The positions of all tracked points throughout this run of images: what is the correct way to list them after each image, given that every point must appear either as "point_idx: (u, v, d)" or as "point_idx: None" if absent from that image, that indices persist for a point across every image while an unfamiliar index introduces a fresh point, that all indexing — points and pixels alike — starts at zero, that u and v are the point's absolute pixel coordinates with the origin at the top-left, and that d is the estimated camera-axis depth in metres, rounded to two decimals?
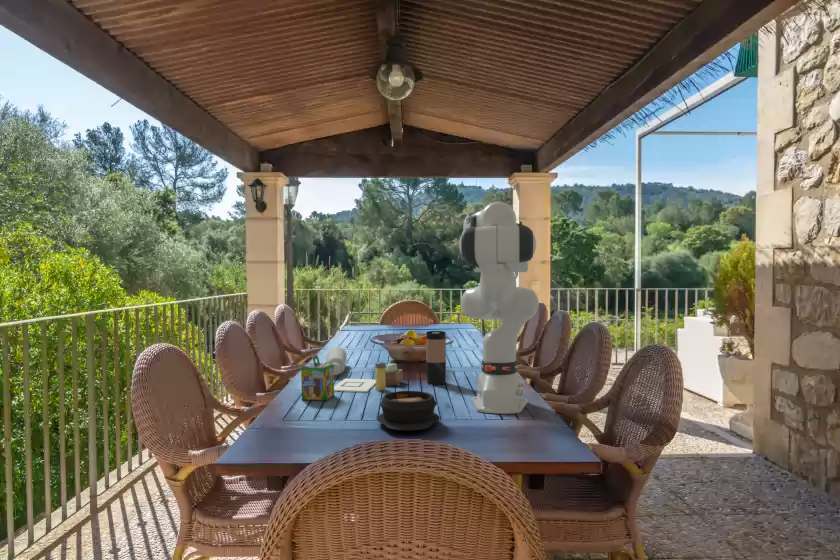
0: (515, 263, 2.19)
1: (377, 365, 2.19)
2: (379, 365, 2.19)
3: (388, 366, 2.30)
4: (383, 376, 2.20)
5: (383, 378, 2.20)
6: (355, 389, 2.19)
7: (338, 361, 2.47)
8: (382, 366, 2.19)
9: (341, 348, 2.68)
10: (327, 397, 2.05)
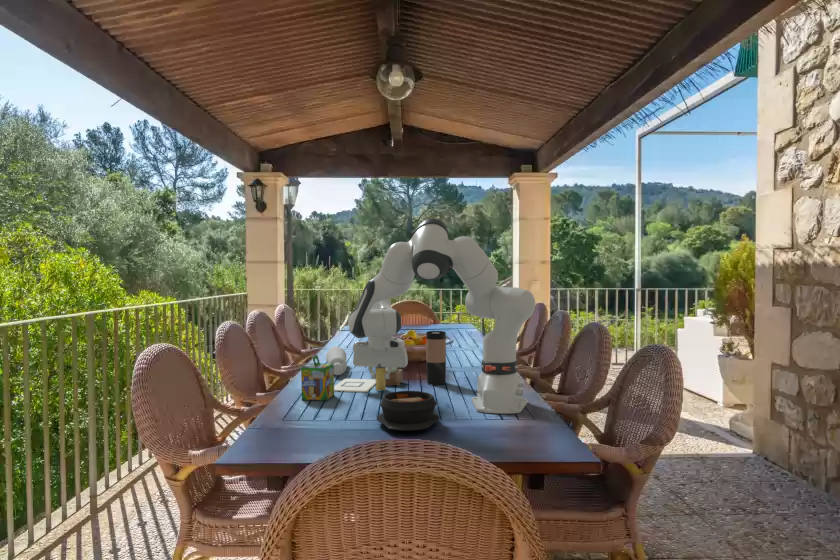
0: (393, 358, 2.18)
1: None
2: (379, 365, 2.19)
3: None
4: (383, 376, 2.20)
5: (383, 378, 2.20)
6: (355, 389, 2.19)
7: (340, 361, 2.48)
8: None
9: (341, 348, 2.68)
10: (327, 397, 2.05)
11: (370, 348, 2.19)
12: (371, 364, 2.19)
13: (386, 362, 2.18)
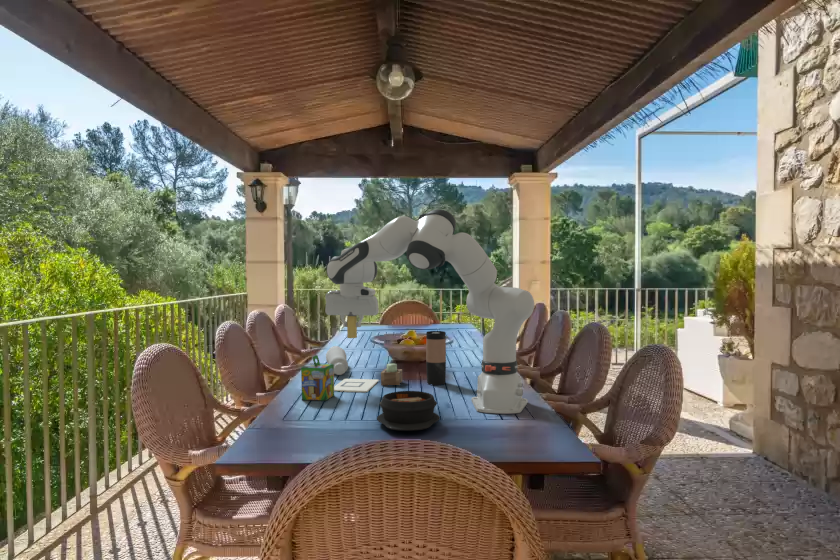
0: (364, 306, 2.24)
1: None
2: (350, 313, 2.25)
3: (388, 366, 2.30)
4: (354, 324, 2.26)
5: (354, 326, 2.26)
6: (355, 389, 2.19)
7: (342, 361, 2.48)
8: None
9: (341, 348, 2.68)
10: (327, 397, 2.05)
11: (342, 297, 2.25)
12: (343, 312, 2.25)
13: (357, 310, 2.24)
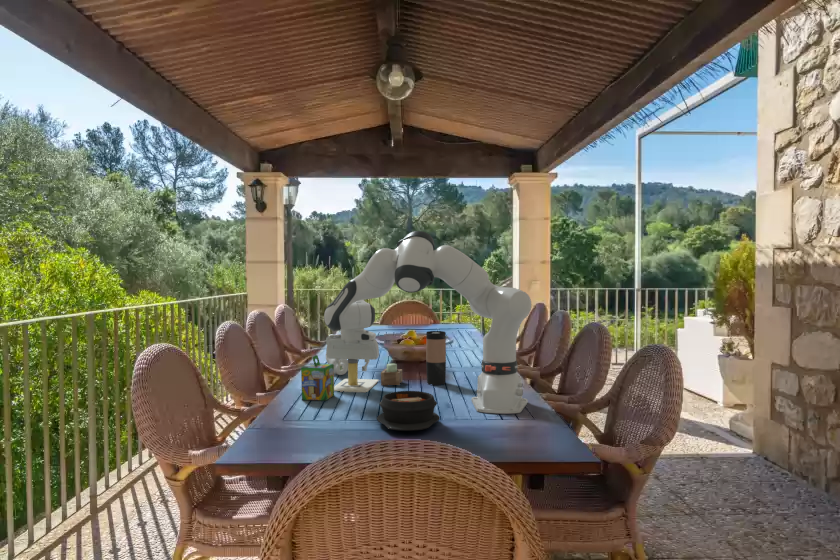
0: (365, 351, 2.25)
1: (349, 360, 2.26)
2: (351, 360, 2.26)
3: (388, 366, 2.30)
4: (355, 371, 2.26)
5: (355, 373, 2.26)
6: (355, 389, 2.19)
7: (343, 361, 2.48)
8: (354, 361, 2.26)
9: None
10: (327, 397, 2.05)
11: (342, 341, 2.26)
12: (343, 356, 2.26)
13: (357, 354, 2.25)
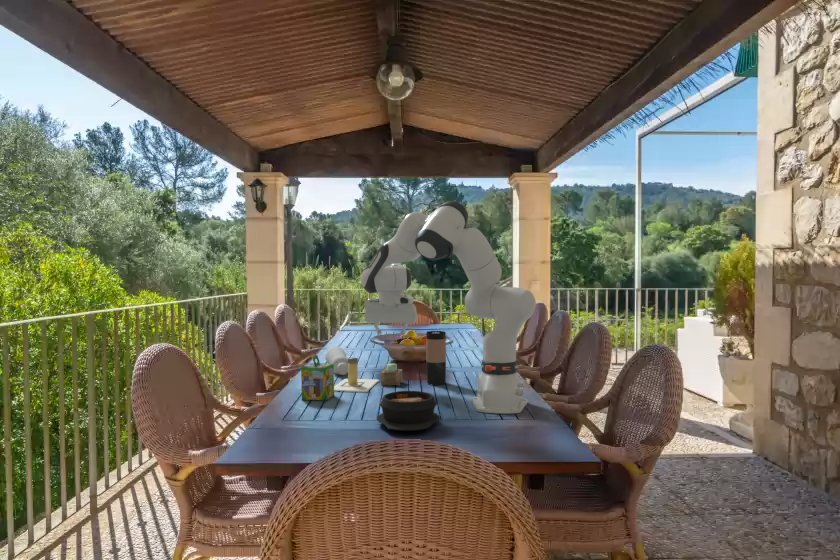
0: (404, 314, 2.28)
1: (349, 360, 2.26)
2: (351, 360, 2.26)
3: (388, 366, 2.30)
4: (355, 371, 2.26)
5: (355, 373, 2.26)
6: (355, 389, 2.19)
7: (344, 361, 2.48)
8: (354, 361, 2.26)
9: (340, 348, 2.68)
10: (327, 397, 2.05)
11: (381, 305, 2.29)
12: (382, 320, 2.29)
13: (396, 318, 2.28)
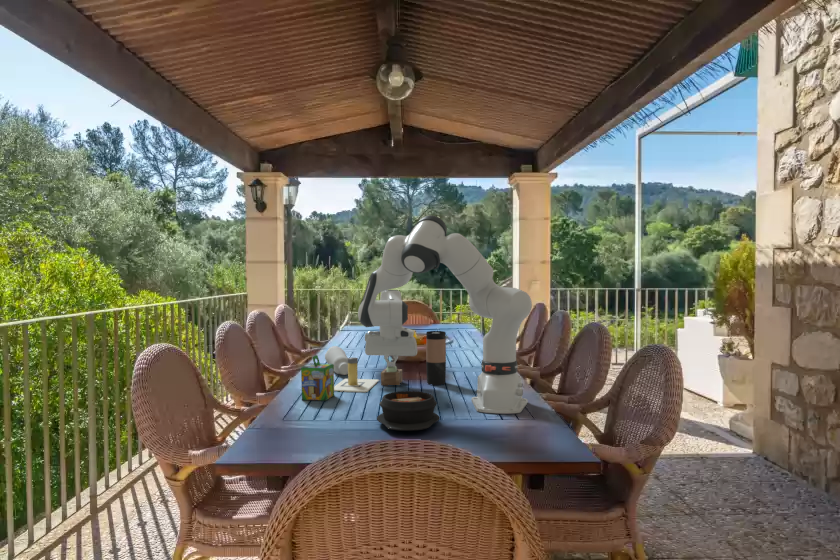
0: (404, 347, 2.28)
1: (349, 360, 2.26)
2: (351, 360, 2.26)
3: (388, 369, 2.30)
4: (355, 371, 2.26)
5: (355, 373, 2.26)
6: (355, 389, 2.19)
7: (345, 361, 2.48)
8: (354, 361, 2.26)
9: (340, 348, 2.68)
10: (327, 397, 2.05)
11: (381, 337, 2.29)
12: (382, 353, 2.30)
13: (396, 350, 2.29)
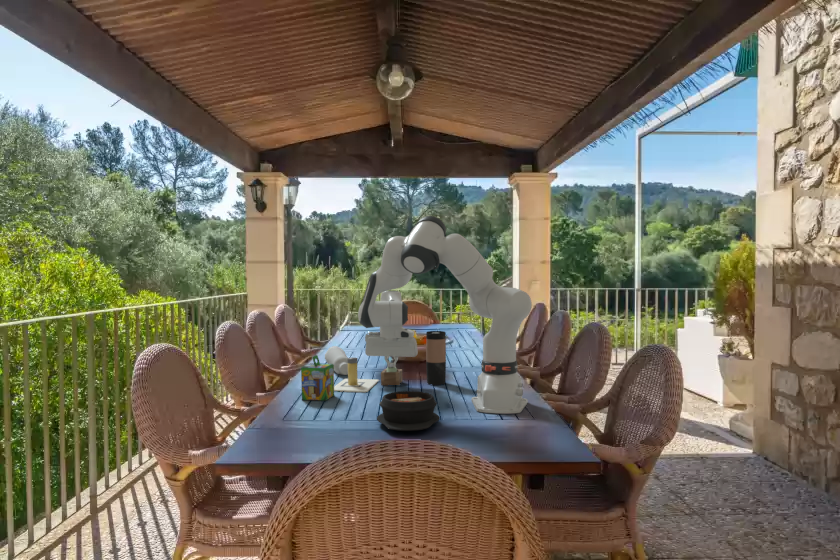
0: (404, 348, 2.28)
1: (349, 360, 2.26)
2: (351, 360, 2.26)
3: (388, 370, 2.30)
4: (355, 371, 2.26)
5: (355, 373, 2.26)
6: (355, 389, 2.19)
7: (346, 361, 2.49)
8: (354, 361, 2.26)
9: (340, 348, 2.68)
10: (327, 397, 2.05)
11: (382, 338, 2.30)
12: (383, 354, 2.30)
13: (396, 351, 2.29)
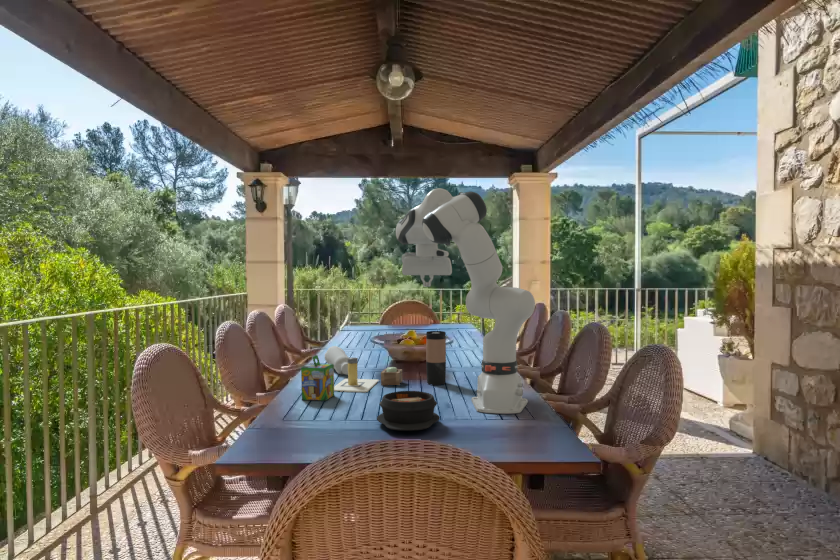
0: (439, 267, 2.39)
1: (349, 360, 2.26)
2: (351, 360, 2.26)
3: (388, 370, 2.30)
4: (355, 371, 2.26)
5: (355, 373, 2.26)
6: (355, 389, 2.19)
7: (347, 360, 2.49)
8: (354, 361, 2.26)
9: (340, 348, 2.68)
10: (327, 397, 2.05)
11: (418, 258, 2.40)
12: (419, 272, 2.41)
13: (432, 270, 2.40)
